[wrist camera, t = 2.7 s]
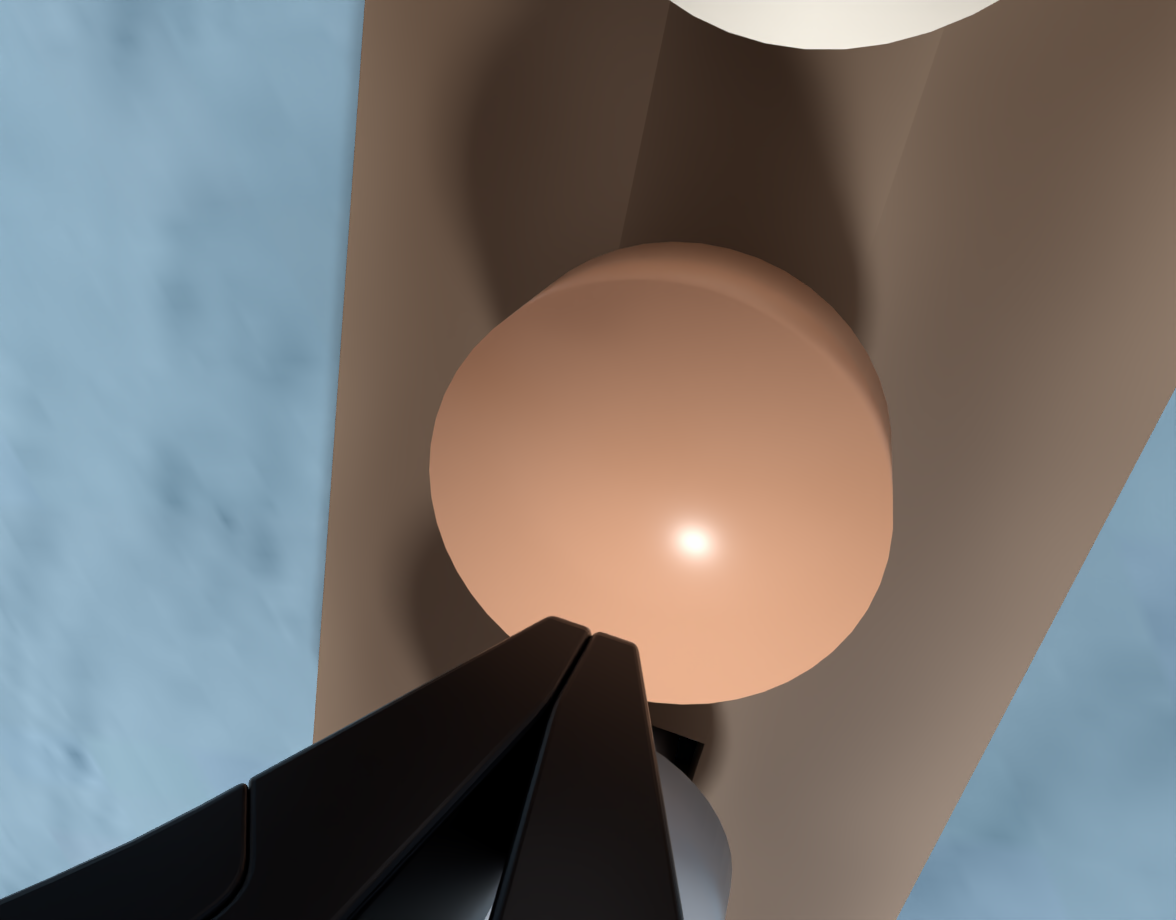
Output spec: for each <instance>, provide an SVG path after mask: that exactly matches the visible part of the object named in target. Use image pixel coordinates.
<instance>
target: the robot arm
mask: <svg viewBox="0 0 1176 920" xmlns="http://www.w3.org/2000/svg"><path fill="white" fill-rule="evenodd" d="M491 907H492V909H491ZM490 909H491V912H490V916H489V919H488V920H684V916H683V910H682V904H681V899H680V893H679V887H678V881H677V875H676V869H675V863H674V857H673V851H672V845H671V839H670V833H669V827H668V821H667V815H666V809H665V803H664V797H663V791H662V785H661V779H660V773H659V767H658V761H657V755H656V749H655V743H654V737H653V731H652V725H651V720H650V714H649V708H648V702H647V696H646V690H645V684H644V678H643V672H642V666H641V660H640V654H639V650H638V647H637V646H636V644H634V643H633V642H630V641H627V640H624V639H622V638H619V637H616V636H613V635H610V634H607V633H604V632H596V633H594V634H593V635H592V634H591V630H590V629H589V628H588V627H586V626H583V625H580V624H577V623H574V622H572V621H569V620H566V619H563V618H560V617H557V616H548V617H546V618H544V619H542V620H540V621H538V622H536V623H534V624H533V625H531V626H529V627H527V628H525V629H523V630H522V631H520V632H518V633H516V634H514V635H512V636H511V637H509V638H507V639H505V640H503V641H501V642H500V643H498V644H496V645H494V646H492V647H490V648H489V649H487V650H485V651H483V652H481V653H479V654H478V655H476V656H474V657H472V658H470V659H468V660H467V661H465V662H463V663H461V664H459V665H457V666H456V667H454V668H452V669H450V670H448V671H446V672H445V673H443V674H441V675H439V676H437V677H435V678H434V679H432V680H430V681H428V682H426V683H424V684H423V685H421V686H419V687H417V688H415V689H413V690H412V691H410V692H408V693H406V694H404V695H402V696H401V697H399V698H397V699H395V700H393V701H391V702H390V703H388V704H386V705H384V706H382V707H380V708H379V709H377V710H375V711H373V712H371V713H369V714H368V715H366V716H364V717H362V718H360V719H358V720H357V721H355V722H353V723H351V724H349V725H347V726H346V727H344V728H342V729H340V730H338V731H336V732H335V733H333V734H331V735H329V736H327V737H325V738H324V739H322V740H320V741H318V742H316V743H314V744H312V745H311V746H309V747H307V748H305V749H303V750H301V751H300V752H298V753H296V754H294V755H292V756H290V757H289V758H287V759H285V760H283V761H281V762H279V763H278V764H276V765H274V766H272V767H270V768H268V769H267V770H265V771H263V772H261V773H259V774H257V775H256V776H254V777H252V778H251V779H250V780H249V785H248V786H247V785H246V784H244V783H241V784H238V785H236V786H235V787H233V788H231V789H229V790H227V791H225V792H224V793H222V794H220V795H218V796H216V797H214V798H213V799H211V800H209V801H207V802H205V803H203V804H202V805H200V806H198V807H196V808H194V809H192V810H190V811H188V812H186V813H184V814H182V815H180V816H178V817H176V818H174V819H172V820H171V821H169V822H167V823H165V824H163V825H161V826H159V827H157V828H155V829H153V830H151V831H149V832H147V833H145V834H143V835H141V836H139V837H137V838H135V839H134V840H132V841H129V842H127V843H125V844H123V845H121V846H118V847H116V848H114V849H112V850H110V851H108V852H105V853H103V854H101V855H99V856H97V857H94V858H92V859H90V860H88V861H86V862H83V863H81V864H79V865H77V866H75V867H73V868H70V869H68V870H66V871H64V872H62V873H59V874H57V875H55V876H53V877H51V878H48V879H46V880H44V881H41V882H39V883H37V884H34V885H32V886H30V887H28V888H25V889H23V890H21V891H18V892H16V893H14V894H11V895H9V896H7V897H4V898H2V899H0V920H485V918H486V916H487V914H488V912H489V910H490Z"/></svg>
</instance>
